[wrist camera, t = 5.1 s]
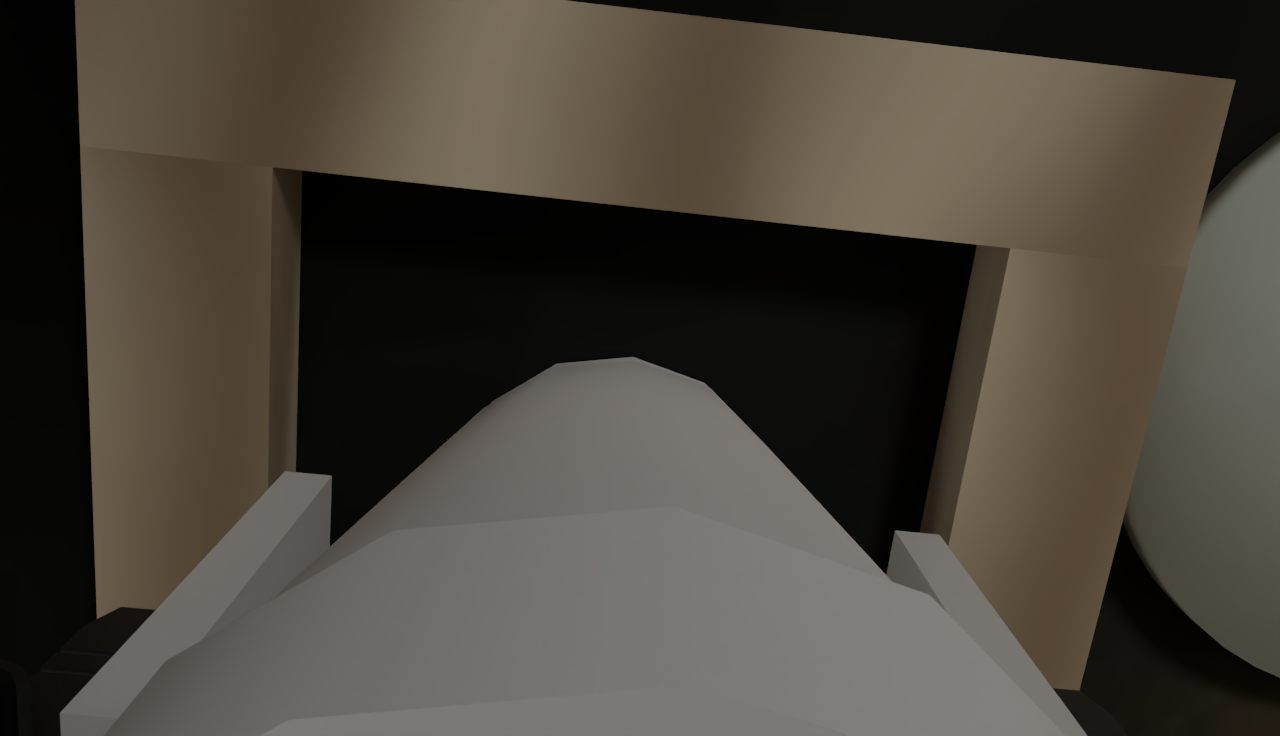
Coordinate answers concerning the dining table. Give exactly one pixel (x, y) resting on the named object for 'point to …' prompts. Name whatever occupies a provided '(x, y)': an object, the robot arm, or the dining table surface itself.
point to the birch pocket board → (646, 178)
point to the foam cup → (592, 597)
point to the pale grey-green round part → (1221, 425)
